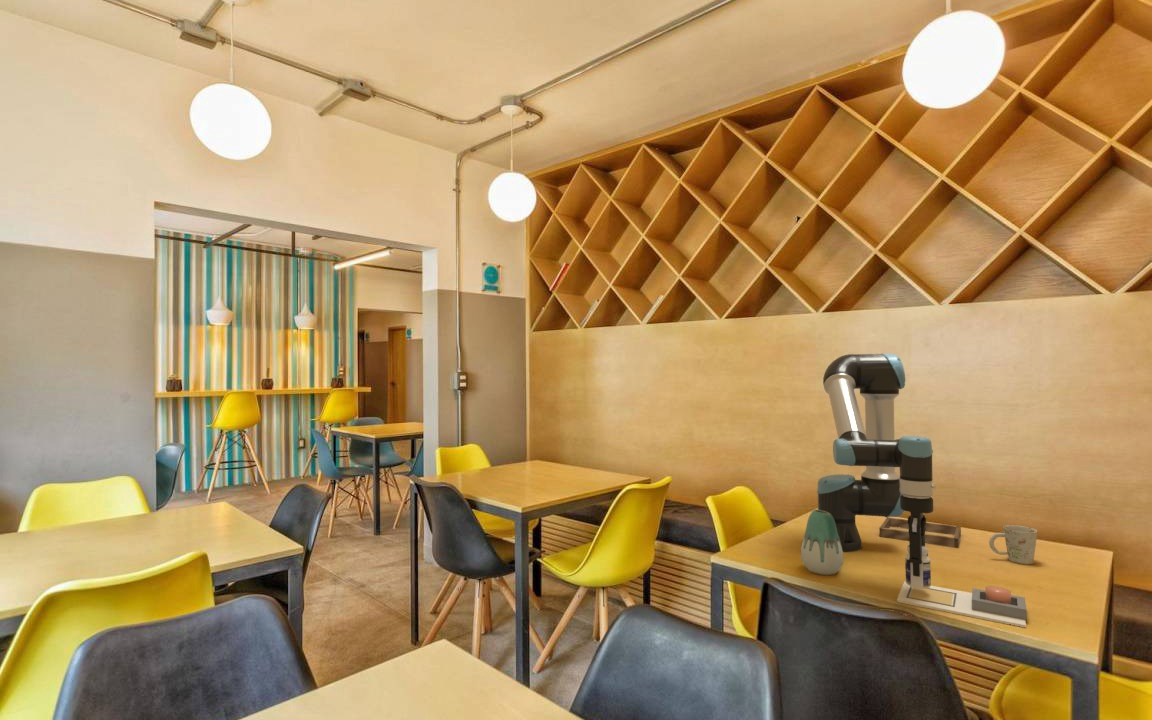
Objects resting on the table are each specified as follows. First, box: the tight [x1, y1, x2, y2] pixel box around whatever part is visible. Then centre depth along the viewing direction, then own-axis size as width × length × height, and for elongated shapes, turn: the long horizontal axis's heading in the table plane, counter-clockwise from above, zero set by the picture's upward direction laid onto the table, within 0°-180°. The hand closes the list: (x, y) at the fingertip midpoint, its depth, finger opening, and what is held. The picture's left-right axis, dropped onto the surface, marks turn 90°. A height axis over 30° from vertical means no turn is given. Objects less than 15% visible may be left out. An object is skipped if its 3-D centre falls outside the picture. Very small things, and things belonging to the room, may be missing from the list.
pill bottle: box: [904, 544, 932, 589], centre depth 151 cm, size 6×6×10 cm
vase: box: [800, 509, 844, 576], centre depth 170 cm, size 12×12×18 cm
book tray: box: [878, 517, 962, 549], centre depth 205 cm, size 23×18×3 cm
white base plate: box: [896, 580, 1028, 629], centre depth 146 cm, size 26×16×3 cm, turn 54°
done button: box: [985, 585, 1012, 605], centre depth 141 cm, size 5×5×3 cm
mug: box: [988, 524, 1038, 565], centre depth 178 cm, size 8×13×10 cm, turn 78°
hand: (918, 584), depth 151 cm, fingers closed on pill bottle, 6 cm apart
